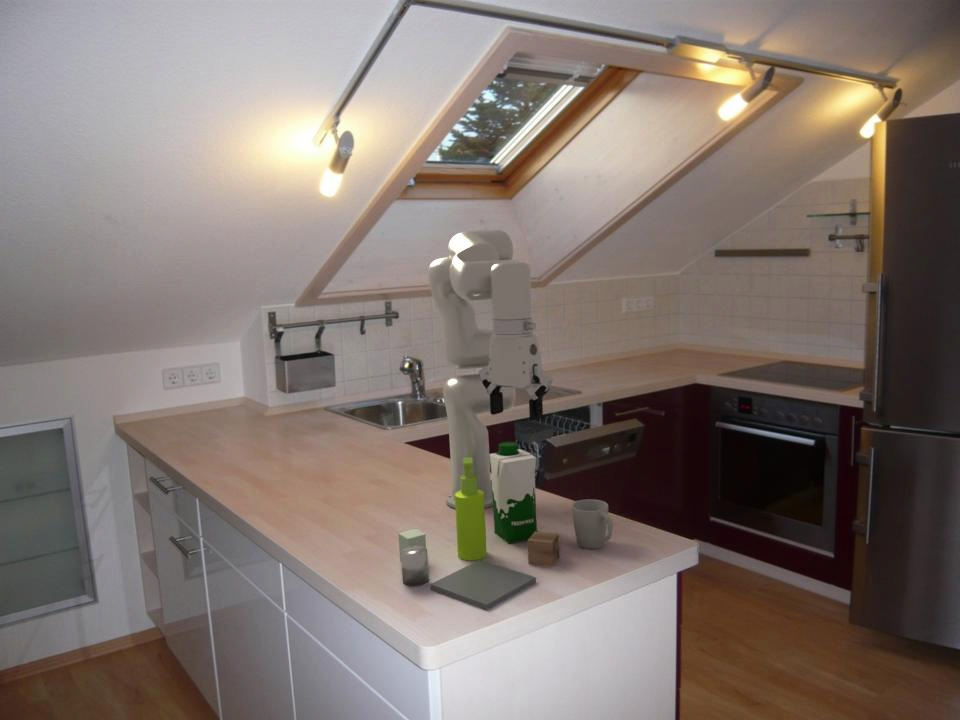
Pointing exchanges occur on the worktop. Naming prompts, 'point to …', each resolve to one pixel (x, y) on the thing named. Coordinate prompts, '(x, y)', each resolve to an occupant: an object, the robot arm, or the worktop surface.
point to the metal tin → (414, 566)
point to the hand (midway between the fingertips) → (516, 416)
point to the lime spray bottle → (470, 516)
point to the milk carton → (513, 493)
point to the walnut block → (543, 548)
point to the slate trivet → (483, 584)
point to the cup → (591, 523)
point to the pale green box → (411, 539)
